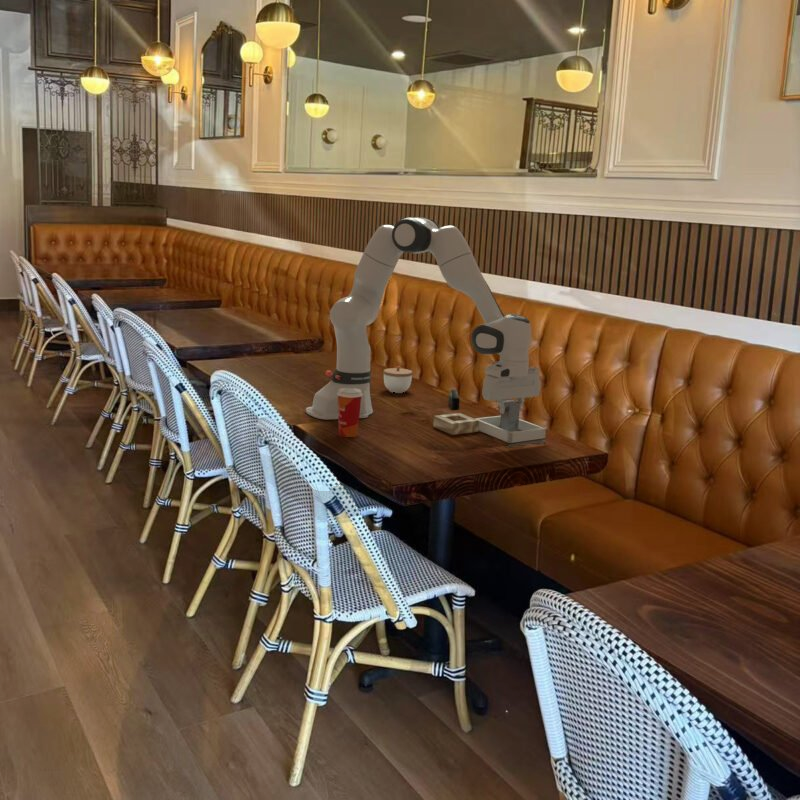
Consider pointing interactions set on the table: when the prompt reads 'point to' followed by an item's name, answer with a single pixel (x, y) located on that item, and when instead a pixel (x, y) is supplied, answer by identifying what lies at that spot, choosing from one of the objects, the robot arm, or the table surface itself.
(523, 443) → the grey tray
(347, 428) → the paper cup
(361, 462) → the table surface
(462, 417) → the socket block
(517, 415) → the pin
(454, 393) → the mobile phone
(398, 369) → the lidded jar
